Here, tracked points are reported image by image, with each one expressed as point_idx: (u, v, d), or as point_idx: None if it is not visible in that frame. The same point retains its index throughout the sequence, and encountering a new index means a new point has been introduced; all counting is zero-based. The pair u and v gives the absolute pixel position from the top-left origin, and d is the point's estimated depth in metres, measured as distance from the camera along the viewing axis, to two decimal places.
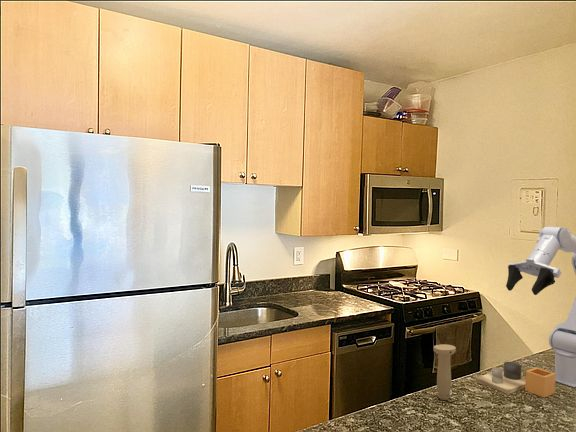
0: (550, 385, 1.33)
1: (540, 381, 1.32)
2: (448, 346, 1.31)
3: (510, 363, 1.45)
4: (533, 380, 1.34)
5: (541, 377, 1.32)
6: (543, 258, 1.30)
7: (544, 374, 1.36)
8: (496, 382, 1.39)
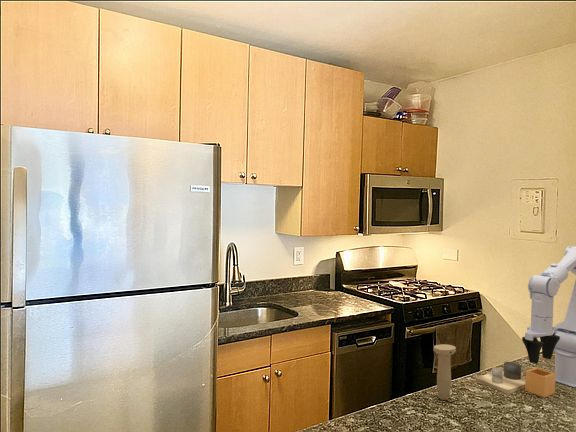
0: (550, 385, 1.33)
1: (540, 381, 1.32)
2: (448, 346, 1.31)
3: (510, 363, 1.45)
4: (533, 380, 1.34)
5: (541, 377, 1.32)
6: (531, 321, 1.35)
7: (544, 374, 1.36)
8: (496, 382, 1.39)
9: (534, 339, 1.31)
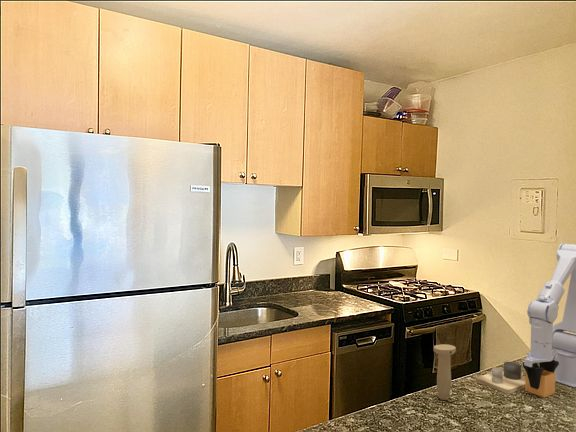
0: (550, 385, 1.33)
1: (540, 381, 1.32)
2: (448, 346, 1.31)
3: (510, 363, 1.45)
4: None
5: (541, 377, 1.32)
6: (531, 347, 1.35)
7: (544, 374, 1.36)
8: (496, 382, 1.39)
9: (533, 365, 1.32)
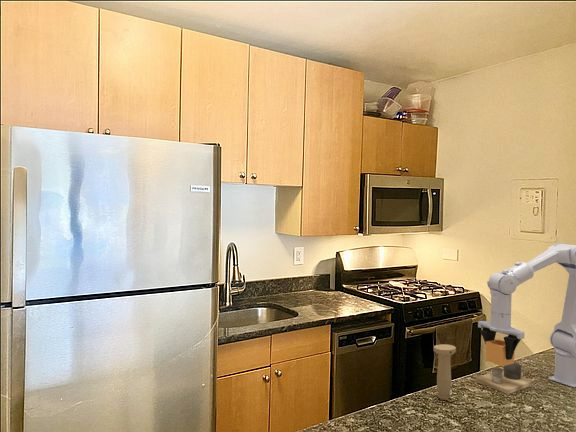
0: None
1: None
2: (448, 346, 1.31)
3: None
4: None
5: None
6: (503, 321, 1.36)
7: None
8: (496, 382, 1.39)
9: None
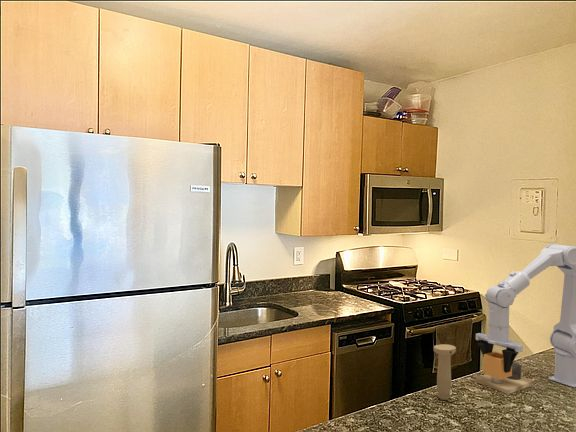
0: None
1: None
2: (448, 346, 1.31)
3: None
4: None
5: None
6: (501, 334, 1.37)
7: None
8: (496, 382, 1.39)
9: None
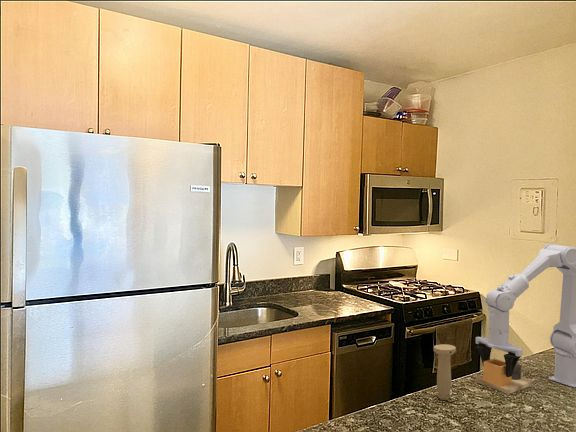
0: None
1: None
2: (448, 346, 1.31)
3: None
4: (505, 372, 1.37)
5: None
6: (501, 338, 1.37)
7: None
8: None
9: None
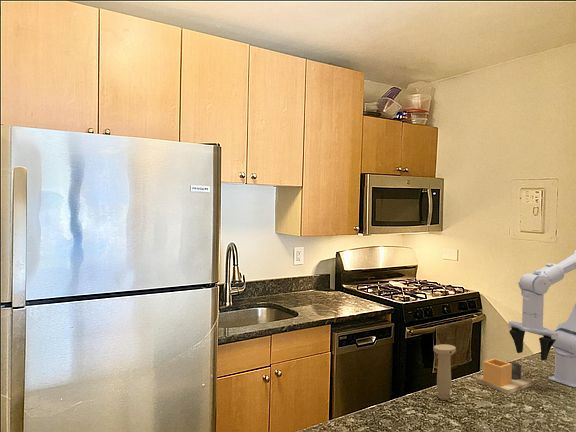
0: None
1: (509, 370, 1.38)
2: (448, 346, 1.31)
3: None
4: (505, 372, 1.37)
5: (510, 365, 1.38)
6: (536, 321, 1.36)
7: None
8: None
9: None
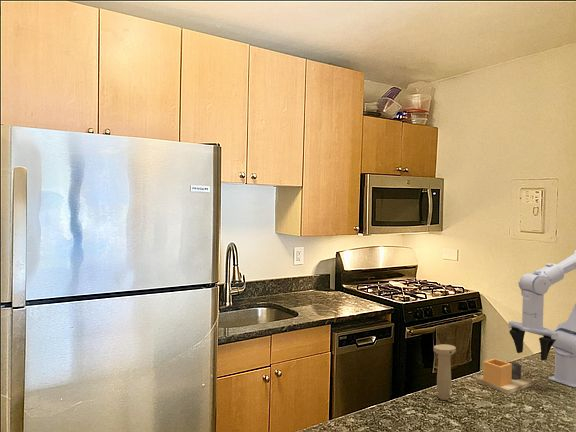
0: None
1: (509, 370, 1.38)
2: (448, 346, 1.31)
3: None
4: (505, 372, 1.37)
5: (510, 365, 1.38)
6: (536, 321, 1.36)
7: None
8: None
9: None
